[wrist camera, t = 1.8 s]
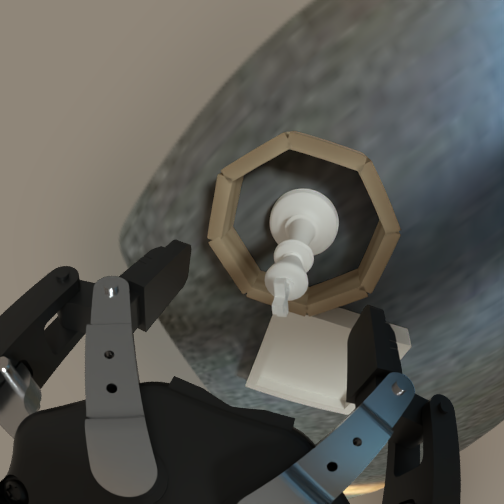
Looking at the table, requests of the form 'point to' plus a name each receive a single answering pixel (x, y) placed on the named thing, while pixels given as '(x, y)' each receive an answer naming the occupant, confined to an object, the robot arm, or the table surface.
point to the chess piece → (298, 242)
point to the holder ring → (253, 278)
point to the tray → (310, 358)
